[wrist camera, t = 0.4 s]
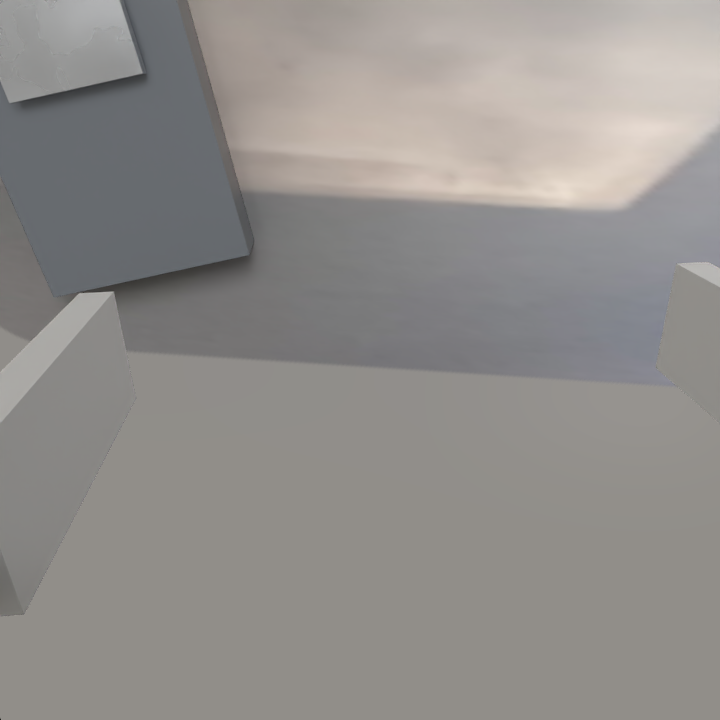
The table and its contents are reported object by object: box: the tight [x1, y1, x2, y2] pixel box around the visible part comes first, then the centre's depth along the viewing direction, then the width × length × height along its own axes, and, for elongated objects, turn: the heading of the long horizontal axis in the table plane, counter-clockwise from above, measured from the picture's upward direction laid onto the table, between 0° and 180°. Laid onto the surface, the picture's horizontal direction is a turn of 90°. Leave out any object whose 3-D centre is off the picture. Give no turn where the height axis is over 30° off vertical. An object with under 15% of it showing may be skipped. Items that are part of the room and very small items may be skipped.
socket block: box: [0, 0, 254, 297], centre depth 34 cm, size 20×12×4 cm, turn 11°
